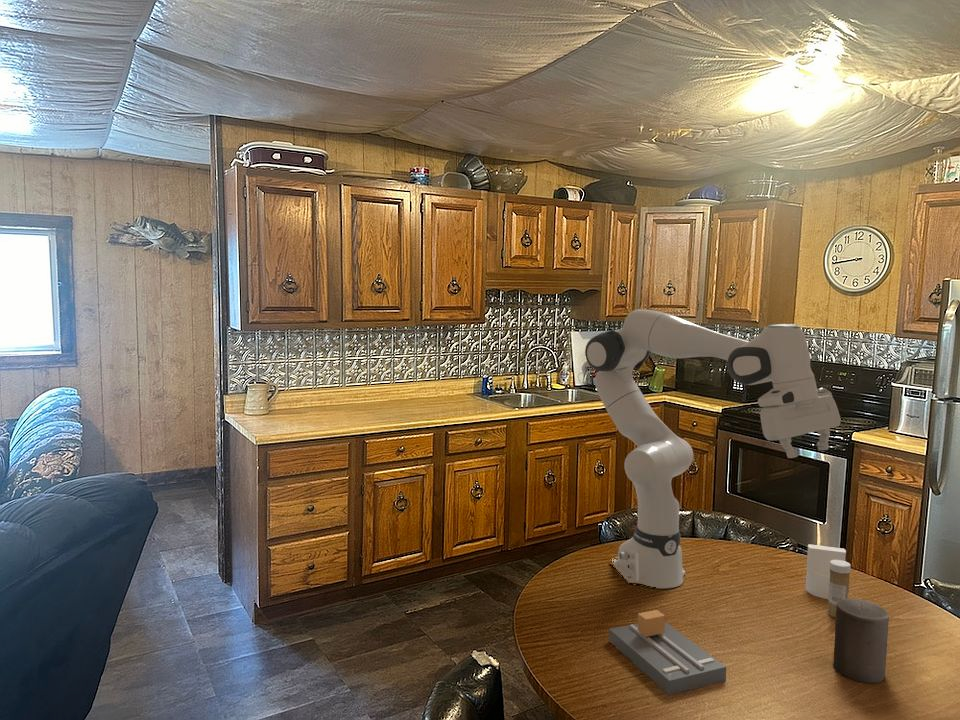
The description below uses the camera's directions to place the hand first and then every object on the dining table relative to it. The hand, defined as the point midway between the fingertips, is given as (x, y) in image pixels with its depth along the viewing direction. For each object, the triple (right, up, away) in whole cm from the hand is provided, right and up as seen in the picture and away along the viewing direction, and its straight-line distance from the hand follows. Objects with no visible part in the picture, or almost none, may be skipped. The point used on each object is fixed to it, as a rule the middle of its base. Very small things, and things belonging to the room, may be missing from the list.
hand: (808, 453), depth 151 cm
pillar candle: (+6, -45, -10) cm, 46 cm away
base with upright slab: (+18, -41, +28) cm, 53 cm away
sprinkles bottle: (+15, -42, +15) cm, 47 cm away
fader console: (-34, -44, -6) cm, 56 cm away
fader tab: (-36, -40, -2) cm, 54 cm away
